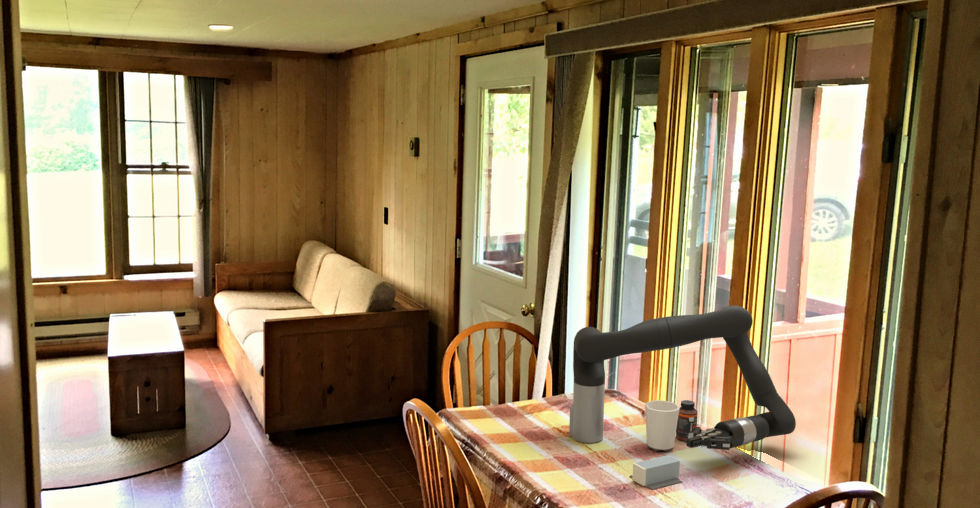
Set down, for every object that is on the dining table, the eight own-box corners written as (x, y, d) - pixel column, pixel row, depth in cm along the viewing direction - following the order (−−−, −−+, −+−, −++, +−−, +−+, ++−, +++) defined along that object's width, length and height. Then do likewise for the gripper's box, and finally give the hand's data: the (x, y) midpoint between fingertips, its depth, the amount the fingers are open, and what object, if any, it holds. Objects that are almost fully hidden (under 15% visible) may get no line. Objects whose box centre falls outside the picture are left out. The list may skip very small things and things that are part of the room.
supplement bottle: (696, 442, 241) (698, 406, 239) (675, 441, 242) (677, 404, 240) (695, 435, 247) (697, 399, 245) (675, 433, 248) (677, 398, 246)
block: (667, 471, 219) (632, 479, 213) (668, 455, 219) (633, 463, 213) (678, 477, 215) (643, 486, 210) (679, 461, 215) (644, 469, 209)
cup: (657, 456, 230) (659, 413, 228) (635, 444, 239) (637, 402, 237) (684, 450, 235) (686, 408, 233) (662, 439, 243) (664, 398, 241)
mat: (629, 476, 216) (629, 475, 216) (658, 469, 221) (658, 468, 221) (652, 489, 208) (652, 488, 208) (681, 482, 213) (681, 481, 213)
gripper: (718, 412, 232) (672, 422, 224) (754, 427, 220) (706, 438, 212) (717, 437, 233) (671, 448, 225) (752, 453, 221) (705, 465, 213)
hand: (688, 443), depth 218 cm, fingers closed
